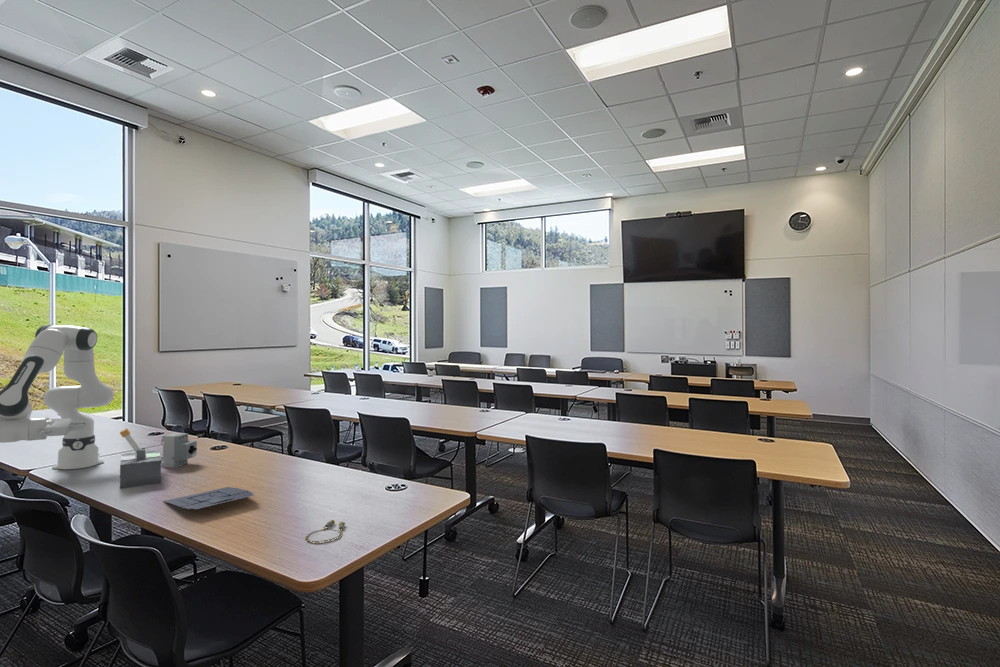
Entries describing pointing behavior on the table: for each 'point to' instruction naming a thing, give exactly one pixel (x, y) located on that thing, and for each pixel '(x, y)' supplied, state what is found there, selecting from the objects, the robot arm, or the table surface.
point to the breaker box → (140, 468)
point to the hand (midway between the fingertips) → (85, 425)
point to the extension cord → (330, 525)
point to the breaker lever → (130, 439)
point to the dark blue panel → (210, 498)
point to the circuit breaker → (177, 449)
